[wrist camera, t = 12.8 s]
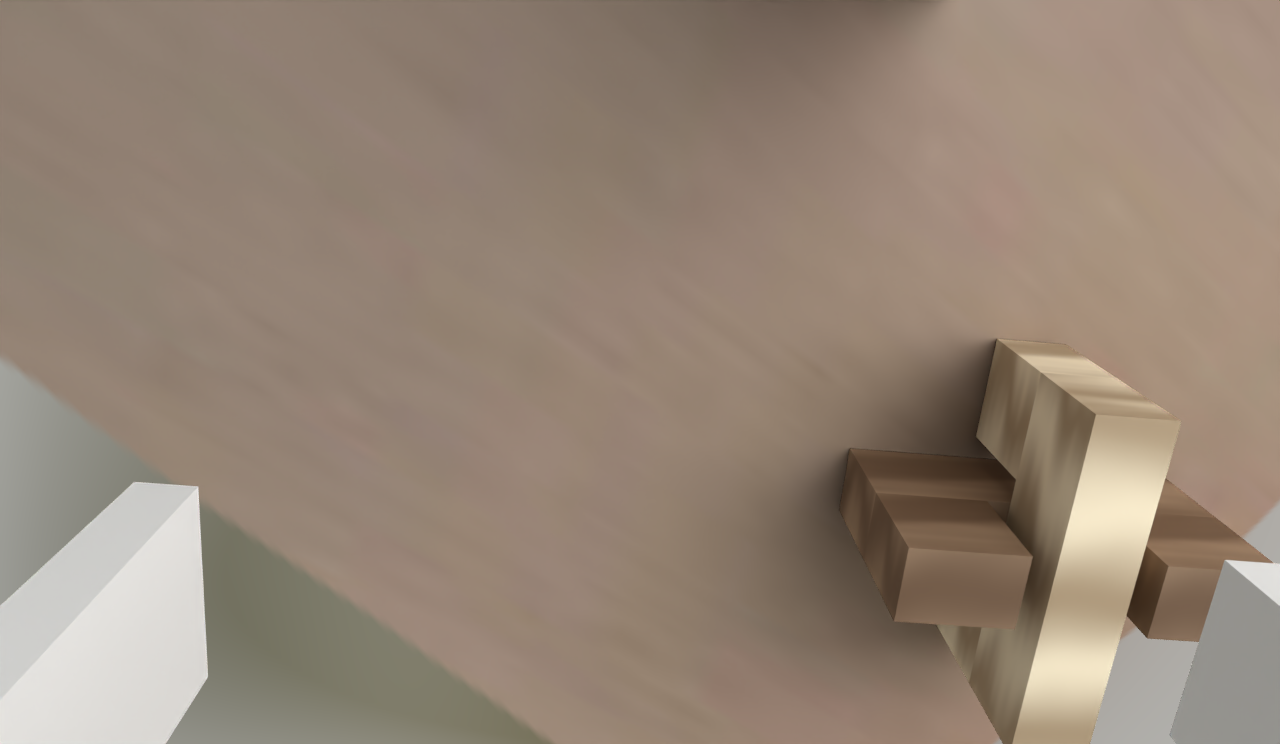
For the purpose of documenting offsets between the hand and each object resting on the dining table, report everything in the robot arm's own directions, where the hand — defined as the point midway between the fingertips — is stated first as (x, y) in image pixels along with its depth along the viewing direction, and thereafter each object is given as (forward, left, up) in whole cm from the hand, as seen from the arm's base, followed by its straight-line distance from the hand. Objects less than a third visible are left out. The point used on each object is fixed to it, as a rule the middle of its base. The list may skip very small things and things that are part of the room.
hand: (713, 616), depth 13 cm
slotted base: (+10, +17, -29) cm, 35 cm away
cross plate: (+10, +17, -29) cm, 35 cm away
